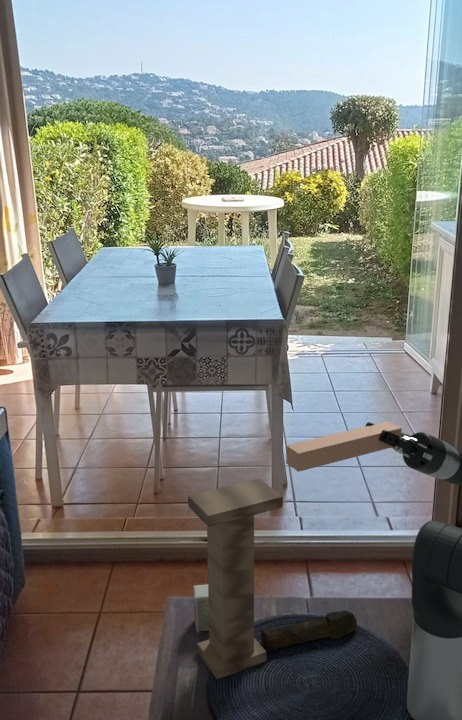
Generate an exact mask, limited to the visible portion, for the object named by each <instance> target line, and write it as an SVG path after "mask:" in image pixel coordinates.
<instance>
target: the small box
mask: <svg viewBox="0 0 462 720" xmlns="http://www.w3.org/2000/svg"><path fill="white" fill-rule="evenodd" d="M193 606H194V607H193V609H194V612H193V613H194V614H193V615H194V626H195V627H196V628H195V632H196V631H209V599H208V583H205V584H197V585H196V584H195V585H193Z"/></svg>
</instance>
